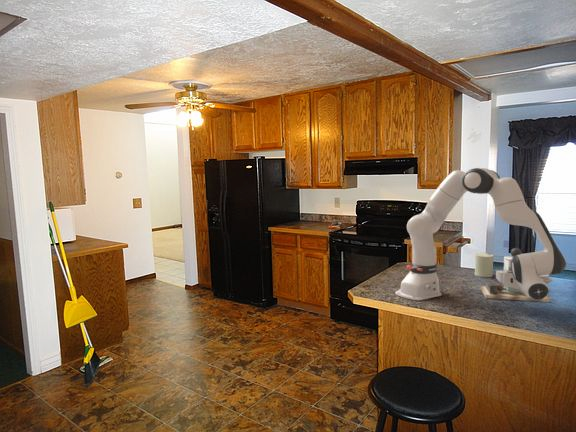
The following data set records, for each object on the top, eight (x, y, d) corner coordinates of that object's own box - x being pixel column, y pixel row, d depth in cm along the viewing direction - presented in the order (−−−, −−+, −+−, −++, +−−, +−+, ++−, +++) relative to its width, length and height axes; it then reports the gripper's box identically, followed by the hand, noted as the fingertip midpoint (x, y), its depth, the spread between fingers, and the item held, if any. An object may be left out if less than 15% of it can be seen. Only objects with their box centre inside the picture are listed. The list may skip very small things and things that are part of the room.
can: (496, 276, 217) (497, 255, 215) (481, 277, 215) (482, 256, 214) (485, 272, 226) (486, 251, 224) (471, 273, 224) (471, 252, 223)
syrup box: (514, 283, 204) (515, 255, 202) (519, 286, 198) (520, 258, 196) (502, 283, 205) (503, 255, 203) (507, 286, 199) (508, 258, 197)
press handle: (518, 287, 188) (519, 246, 186) (522, 292, 180) (524, 250, 178) (504, 286, 190) (505, 246, 187) (508, 291, 182) (509, 249, 180)
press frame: (540, 292, 188) (540, 281, 188) (550, 302, 175) (550, 290, 174) (480, 288, 196) (480, 278, 195) (485, 298, 182) (486, 286, 182)
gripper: (554, 274, 164) (543, 266, 177) (500, 272, 170) (493, 264, 183) (554, 289, 165) (543, 279, 178) (500, 286, 170) (493, 277, 184)
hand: (517, 272), depth 180 cm, fingers open, 8 cm apart
